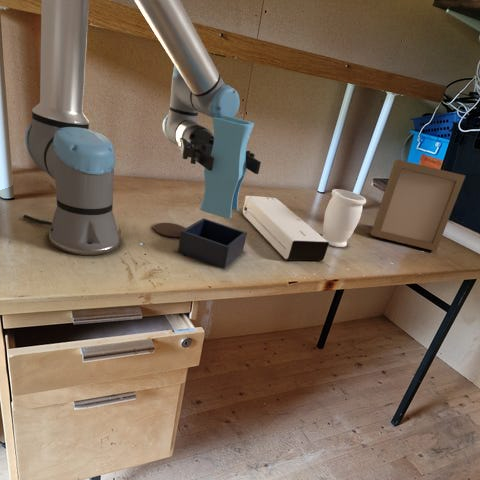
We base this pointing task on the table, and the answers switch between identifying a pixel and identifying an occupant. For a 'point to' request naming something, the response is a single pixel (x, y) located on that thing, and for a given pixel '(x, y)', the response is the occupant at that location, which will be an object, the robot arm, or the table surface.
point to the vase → (226, 165)
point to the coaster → (169, 230)
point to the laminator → (284, 229)
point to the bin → (212, 242)
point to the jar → (342, 216)
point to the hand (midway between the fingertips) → (235, 166)
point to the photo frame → (417, 204)
